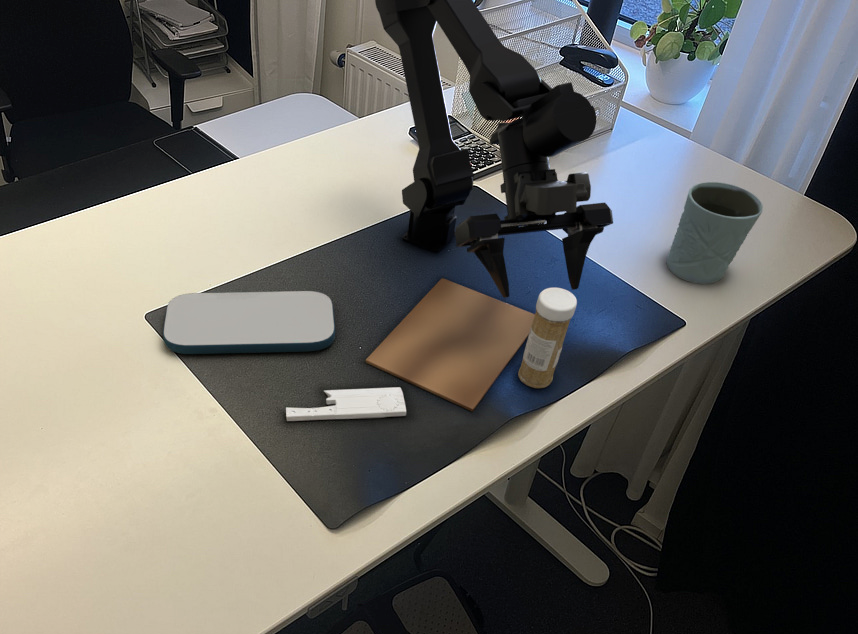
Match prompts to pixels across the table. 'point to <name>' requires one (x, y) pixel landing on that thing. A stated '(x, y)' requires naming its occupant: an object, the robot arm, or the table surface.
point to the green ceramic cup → (712, 231)
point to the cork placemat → (454, 343)
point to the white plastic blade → (354, 405)
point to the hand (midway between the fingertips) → (541, 293)
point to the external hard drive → (249, 322)
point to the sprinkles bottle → (546, 336)
